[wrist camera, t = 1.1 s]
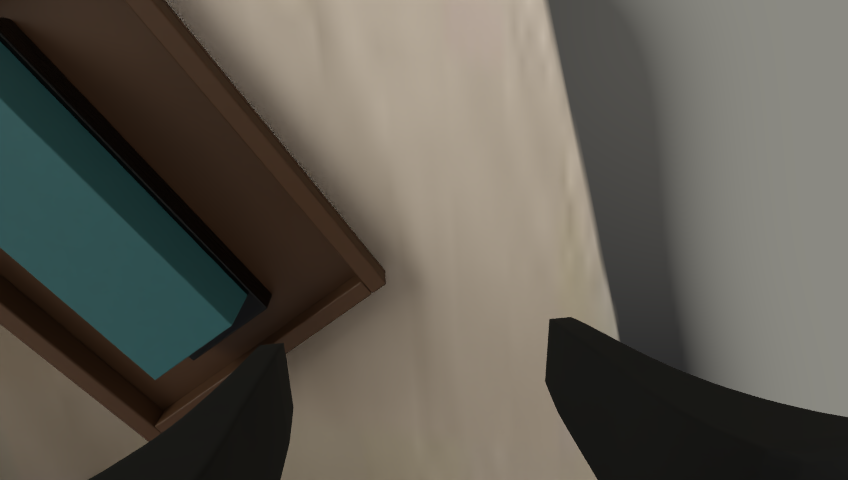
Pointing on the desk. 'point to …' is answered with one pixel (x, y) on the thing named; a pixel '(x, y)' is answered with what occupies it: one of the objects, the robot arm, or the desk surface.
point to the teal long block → (108, 223)
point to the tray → (199, 188)
